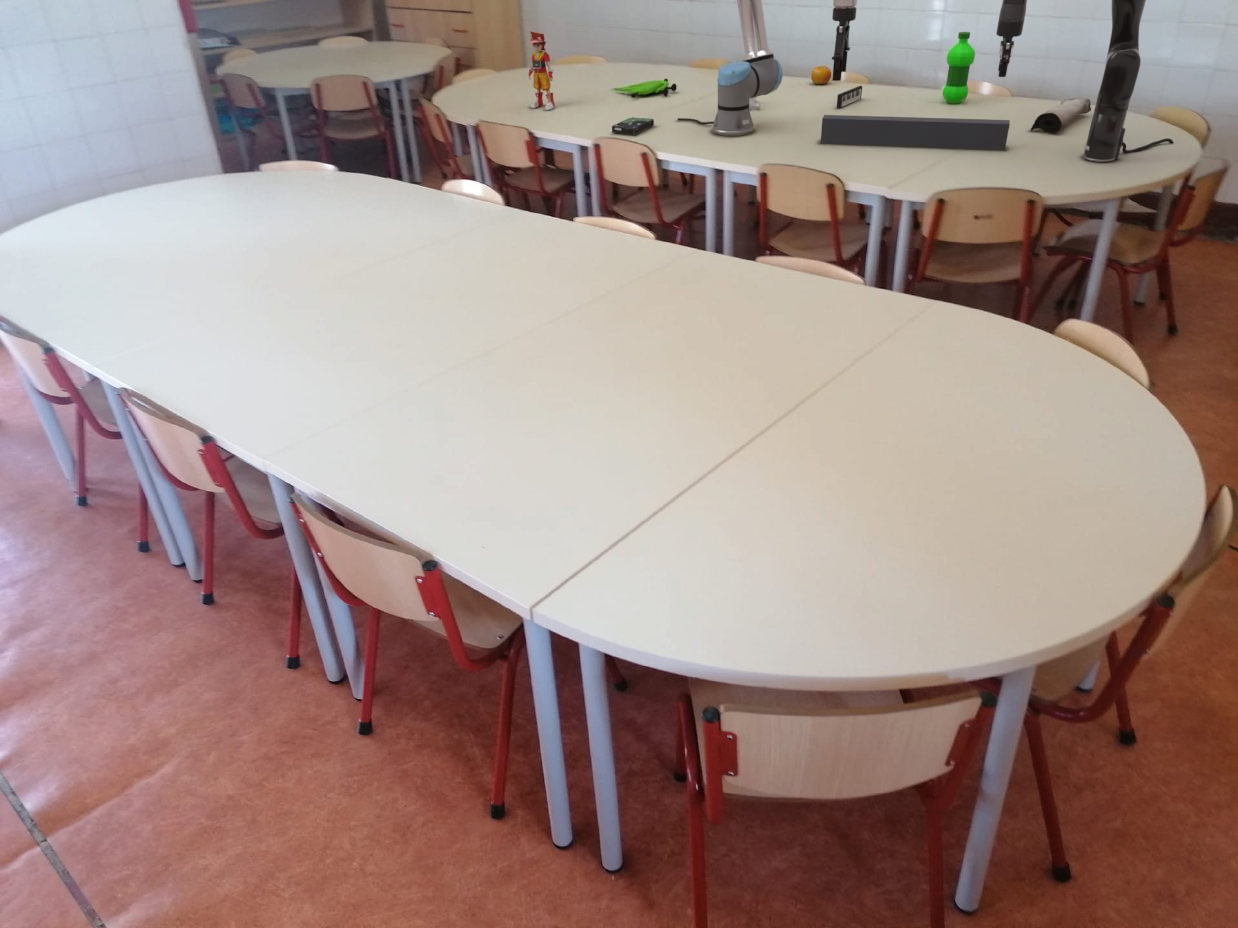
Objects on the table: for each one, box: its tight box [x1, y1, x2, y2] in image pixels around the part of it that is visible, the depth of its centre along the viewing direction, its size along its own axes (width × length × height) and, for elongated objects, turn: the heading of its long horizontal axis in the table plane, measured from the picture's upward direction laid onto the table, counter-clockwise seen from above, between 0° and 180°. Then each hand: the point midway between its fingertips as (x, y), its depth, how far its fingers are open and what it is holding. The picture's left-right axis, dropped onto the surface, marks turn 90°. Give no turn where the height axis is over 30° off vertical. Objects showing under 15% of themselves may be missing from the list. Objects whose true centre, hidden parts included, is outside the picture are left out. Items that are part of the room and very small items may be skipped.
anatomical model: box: [749, 97, 762, 110], centre depth 364 cm, size 15×10×10 cm
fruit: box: [810, 65, 832, 85], centre depth 390 cm, size 8×8×8 cm
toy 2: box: [612, 78, 677, 99], centre depth 396 cm, size 28×5×30 cm
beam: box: [819, 114, 1011, 152], centre depth 308 cm, size 61×5×9 cm, turn 71°
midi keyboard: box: [836, 85, 863, 109], centre depth 360 cm, size 18×1×5 cm, turn 138°
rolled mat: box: [1030, 97, 1092, 134], centre depth 321 cm, size 30×9×10 cm
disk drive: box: [611, 116, 655, 136], centre depth 345 cm, size 10×3×15 cm
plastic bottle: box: [942, 31, 976, 104], centre depth 348 cm, size 10×10×25 cm
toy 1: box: [527, 31, 556, 111], centre depth 374 cm, size 12×9×30 cm
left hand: (839, 76), depth 305 cm, fingers open, 13 cm apart
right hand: (1001, 74), depth 290 cm, fingers open, 8 cm apart
